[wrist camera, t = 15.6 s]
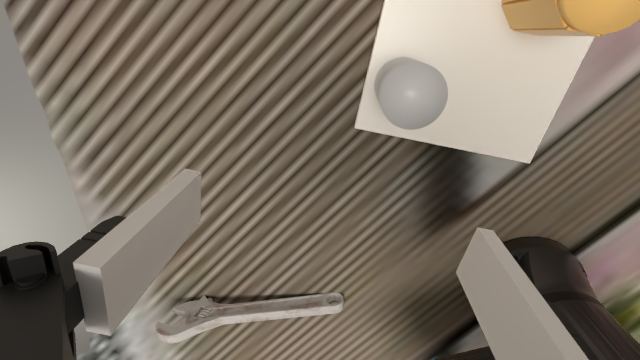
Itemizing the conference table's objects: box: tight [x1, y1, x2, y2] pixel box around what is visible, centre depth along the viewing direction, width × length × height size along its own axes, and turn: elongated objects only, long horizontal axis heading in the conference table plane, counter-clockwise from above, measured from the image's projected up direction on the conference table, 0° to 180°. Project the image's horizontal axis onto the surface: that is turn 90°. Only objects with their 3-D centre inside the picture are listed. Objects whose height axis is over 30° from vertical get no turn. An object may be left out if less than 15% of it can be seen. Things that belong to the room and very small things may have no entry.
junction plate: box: [354, 0, 595, 164], centre depth 31 cm, size 22×22×10 cm
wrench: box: [156, 293, 344, 343], centre depth 52 cm, size 8×2×30 cm
